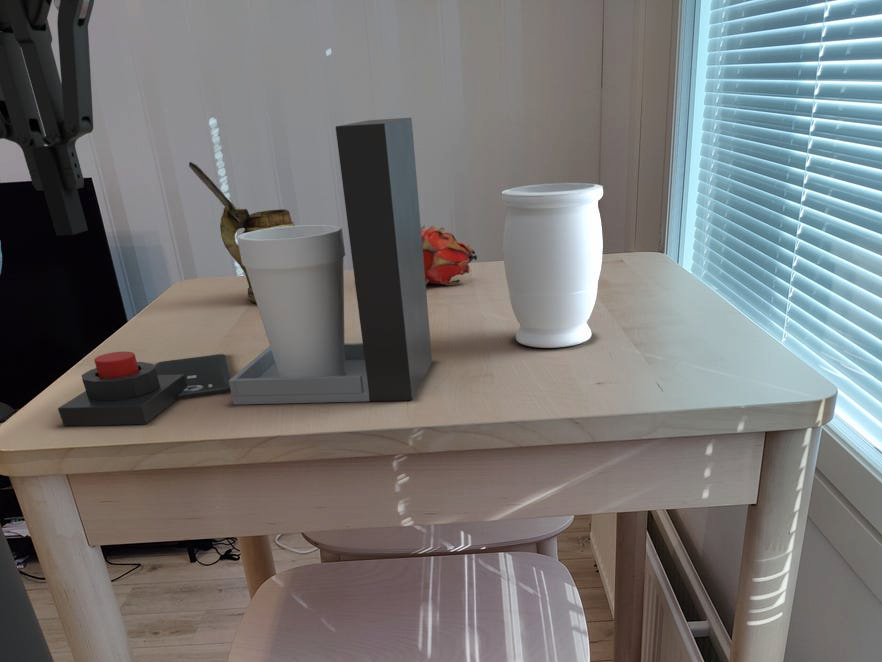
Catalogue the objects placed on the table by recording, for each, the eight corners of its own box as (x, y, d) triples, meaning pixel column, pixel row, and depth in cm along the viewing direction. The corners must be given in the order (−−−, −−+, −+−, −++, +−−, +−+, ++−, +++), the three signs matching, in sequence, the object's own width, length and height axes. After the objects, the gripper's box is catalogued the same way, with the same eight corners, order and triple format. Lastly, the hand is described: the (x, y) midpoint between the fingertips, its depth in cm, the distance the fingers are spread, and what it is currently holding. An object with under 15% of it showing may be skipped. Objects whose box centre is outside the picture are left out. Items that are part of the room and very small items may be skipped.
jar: (529, 325, 101) (526, 182, 93) (613, 330, 97) (617, 180, 89) (490, 348, 93) (483, 194, 85) (580, 354, 89) (581, 193, 81)
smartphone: (154, 406, 84) (152, 398, 83) (157, 369, 96) (155, 361, 95) (234, 395, 85) (232, 387, 85) (226, 359, 98) (225, 352, 97)
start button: (92, 381, 79) (86, 362, 78) (110, 370, 82) (105, 351, 82) (129, 380, 79) (123, 361, 78) (145, 369, 82) (141, 350, 81)
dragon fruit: (395, 295, 129) (473, 305, 128) (383, 268, 121) (467, 279, 120) (405, 240, 129) (483, 250, 128) (394, 209, 121) (478, 220, 120)
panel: (63, 426, 79) (50, 388, 77) (113, 393, 87) (103, 358, 85) (146, 424, 78) (135, 385, 76) (188, 391, 86) (180, 355, 84)
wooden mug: (214, 301, 125) (185, 160, 116) (306, 289, 129) (285, 151, 119) (222, 312, 118) (190, 163, 108) (318, 299, 122) (297, 154, 112)
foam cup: (371, 378, 83) (353, 231, 76) (277, 395, 80) (249, 244, 73) (343, 357, 91) (325, 221, 84) (256, 372, 88) (229, 232, 81)
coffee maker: (233, 404, 81) (176, 136, 69) (273, 367, 92) (230, 128, 80) (412, 400, 79) (384, 123, 67) (432, 362, 90) (411, 117, 78)
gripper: (83, -127, 64) (162, 223, 77) (-80, -113, 65) (25, 229, 78) (29, -149, 57) (125, 236, 70) (-150, -133, 59) (-24, 242, 72)
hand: (72, 232), depth 74 cm, fingers closed
